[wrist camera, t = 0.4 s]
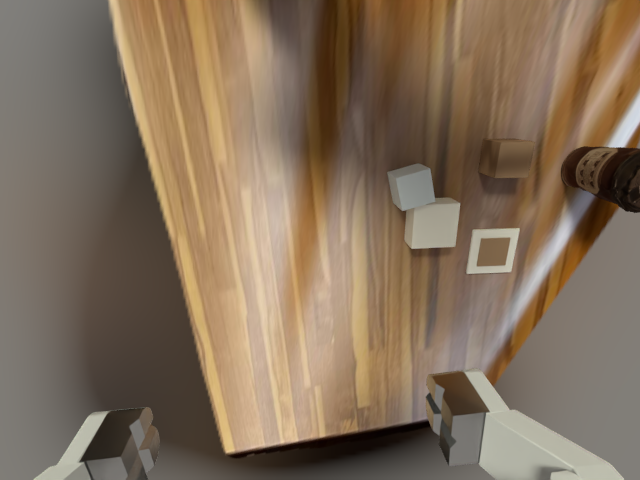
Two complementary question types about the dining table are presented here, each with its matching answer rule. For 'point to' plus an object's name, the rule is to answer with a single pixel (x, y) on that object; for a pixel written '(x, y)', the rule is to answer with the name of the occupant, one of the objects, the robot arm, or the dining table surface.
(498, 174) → the walnut cube
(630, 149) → the coffee cup
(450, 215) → the plinth block
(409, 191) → the grey cube
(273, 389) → the dining table surface
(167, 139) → the dining table surface
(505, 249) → the tile
